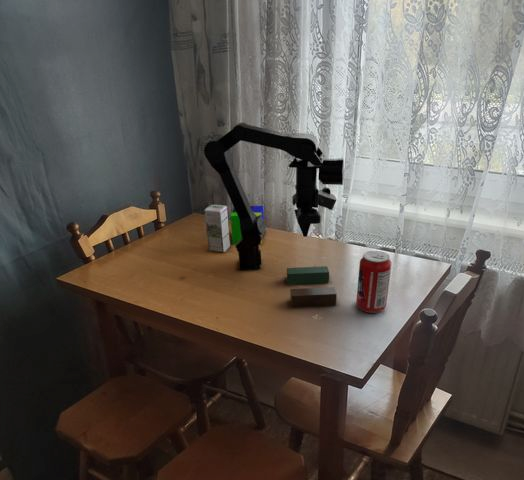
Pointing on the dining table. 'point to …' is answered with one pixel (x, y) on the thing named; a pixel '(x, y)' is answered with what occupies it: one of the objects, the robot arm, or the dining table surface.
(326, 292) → the walnut bar
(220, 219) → the syrup box
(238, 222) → the puzzle toy
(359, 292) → the soda can
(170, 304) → the dining table surface
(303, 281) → the green bar
